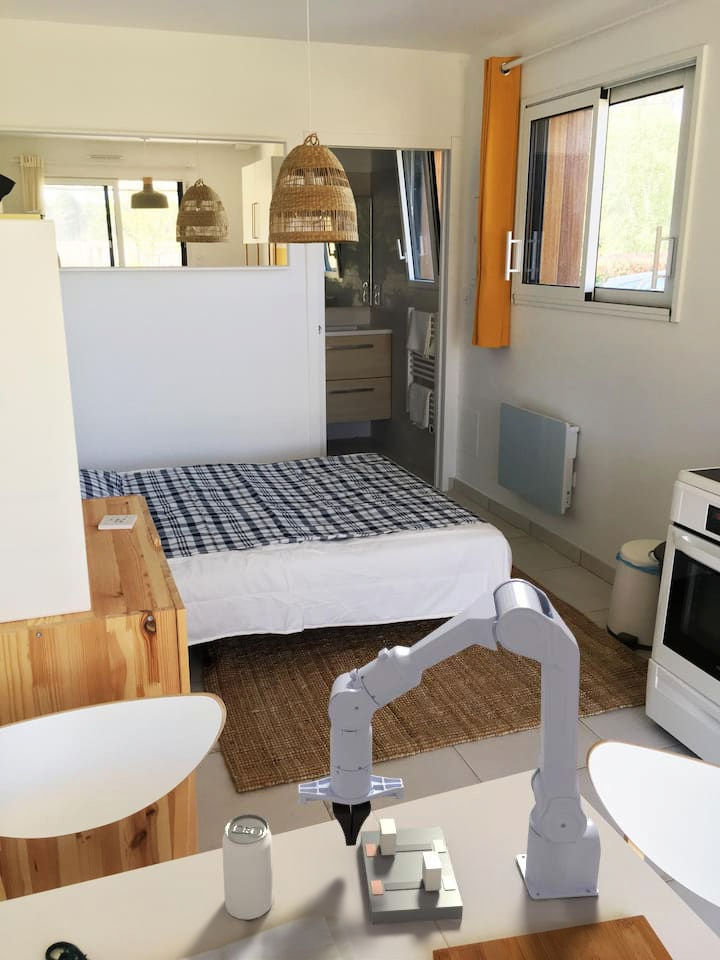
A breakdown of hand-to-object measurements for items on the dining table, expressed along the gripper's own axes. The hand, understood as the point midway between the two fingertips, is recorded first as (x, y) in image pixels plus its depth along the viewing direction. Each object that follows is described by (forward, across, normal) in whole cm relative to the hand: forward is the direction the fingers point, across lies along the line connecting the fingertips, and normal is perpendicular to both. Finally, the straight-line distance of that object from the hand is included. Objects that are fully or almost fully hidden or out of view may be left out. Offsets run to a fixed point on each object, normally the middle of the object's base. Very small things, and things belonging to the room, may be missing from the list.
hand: (350, 840), depth 116 cm
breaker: (+1, -10, +7) cm, 13 cm away
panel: (+4, -8, +4) cm, 9 cm away
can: (+4, +14, +6) cm, 16 cm away
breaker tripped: (+2, -5, 0) cm, 6 cm away
